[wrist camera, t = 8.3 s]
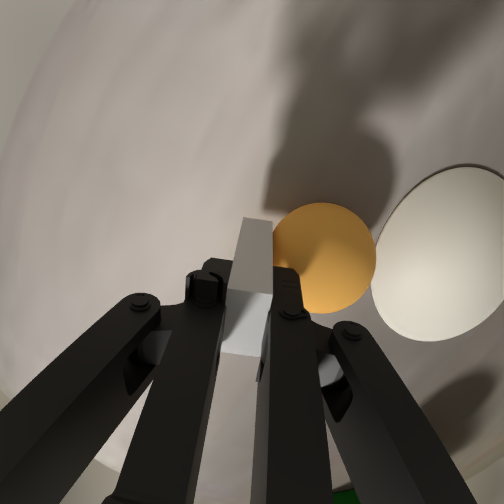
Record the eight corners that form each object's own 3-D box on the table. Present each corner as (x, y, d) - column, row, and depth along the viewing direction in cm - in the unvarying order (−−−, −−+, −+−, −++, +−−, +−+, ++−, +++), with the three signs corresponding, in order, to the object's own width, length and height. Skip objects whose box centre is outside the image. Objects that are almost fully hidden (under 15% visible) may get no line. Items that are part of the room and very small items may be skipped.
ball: (319, 185, 18) (405, 219, 15) (300, 269, 21) (373, 309, 17) (252, 192, 15) (359, 238, 11) (236, 294, 17) (321, 352, 14)
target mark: (544, 195, 16) (545, 196, 15) (482, 342, 21) (483, 343, 21) (401, 141, 16) (403, 142, 15) (345, 333, 21) (346, 335, 21)
